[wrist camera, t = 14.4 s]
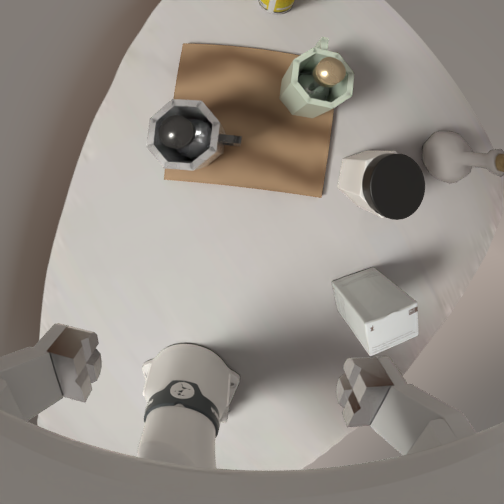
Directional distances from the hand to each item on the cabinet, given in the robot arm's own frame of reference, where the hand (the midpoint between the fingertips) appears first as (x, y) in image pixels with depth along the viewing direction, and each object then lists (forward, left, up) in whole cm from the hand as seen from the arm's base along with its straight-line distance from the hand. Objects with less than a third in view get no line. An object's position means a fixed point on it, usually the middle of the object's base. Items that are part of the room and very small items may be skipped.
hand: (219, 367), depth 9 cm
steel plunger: (+8, +6, -30) cm, 32 cm away
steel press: (+8, +5, -36) cm, 37 cm away
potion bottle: (+13, -33, -37) cm, 51 cm away
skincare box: (-12, -22, -37) cm, 45 cm away
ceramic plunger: (+17, -8, -33) cm, 38 cm away
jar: (+6, -19, -37) cm, 42 cm away
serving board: (+12, -1, -37) cm, 39 cm away
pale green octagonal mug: (+18, -8, -36) cm, 41 cm away
